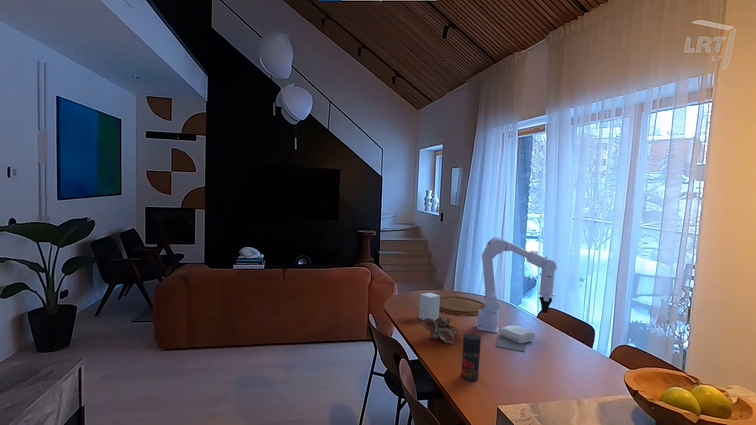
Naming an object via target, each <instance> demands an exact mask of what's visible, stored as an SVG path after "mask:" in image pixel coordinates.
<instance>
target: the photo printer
mask: <svg viewBox="0 0 756 425" xmlns="http://www.w3.org/2000/svg"><path fill="white" fill-rule="evenodd" d="M500 334H501V335H502V336H504V337H506V338H508V339H511V340H513V341H515V342H518V343H525V344H526V343H530V342H533V341H534V340H535V339H536V334H535V332H534V331H531V330H529V329H526V328H523V327H521V326H518V325H508V326H504V327H502V328H501V329H500Z"/></svg>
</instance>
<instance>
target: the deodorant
mask: <svg viewBox="0 0 756 425" xmlns="http://www.w3.org/2000/svg"><path fill="white" fill-rule="evenodd" d="M462 338H463V340H462V355H461V373H460V378H461V379H462V380H463V381H465V382H467V383H468V382H469V383H475V382H478V381H479V371H480V357H481V356H480V355H481V354H480V353H481V346H482V345H481V344H482V343H481V341H482V337H481V336H480V335H479V334H475V333H464V334H463V337H462Z"/></svg>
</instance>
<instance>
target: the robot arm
mask: <svg viewBox="0 0 756 425" xmlns="http://www.w3.org/2000/svg"><path fill="white" fill-rule="evenodd" d="M503 252H513V253H515V254H517V255H520V256H522V257H524V258H525V259H526V262H527V263H529V264H531V265H534V266H536V267H537V268H540V269H541V271H540V272H541V273H540V283H539V292H538V295H539V301H540V306H541V314H548V312H549V309H550V305H551V303H552V302H553V297H556V294H555V293H554V284H555V283H554V282H555V271H556V270H557V269H558V267H557V264H556V262H555V261H554V260H552V259H551V258H549V257H548V256H546V255H542V254H541V253H539V252H538V251H537V250H535V251H534V250H530V251H528V250H526V249H525V248H522V247H520V246H518V245H517V244H515V243H513V242H510V241H509V240H505V239H501V238H499V237H496V236H495V237H492V238H491V239H490V240H489V241H488V242H487V244H486V246H485V248H484V250H483V251H482V253H481V261H482V271H483V283H484V298H483V302H482V303H484V305H485V307H484V308H483V310H479V312H478V316H477V323H476V324H477V326H476V330H478V331H484V332H490V333H496V334H498V332H499V329H500V327H499V326H498V324H499V312H500V309H501V308H500V307H501V306H500V303H499V301H498V297H497V293H496V284H495V283H496V282H495V273H494V262H493V259H495V257H497V255H499V254H502V253H503Z"/></svg>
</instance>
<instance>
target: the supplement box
mask: <svg viewBox="0 0 756 425" xmlns="http://www.w3.org/2000/svg"><path fill="white" fill-rule="evenodd" d="M440 297H441V295H440V294H436V293H433V292H425V293H424V292H423V293H420V295H419V308H418V309H419V312H418V318H419V319H420V320H422V321H423V320H424V319H427V318H430V319H433V320H435V321H436V320H437V318H439V317H440V311H439V304H440Z"/></svg>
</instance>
